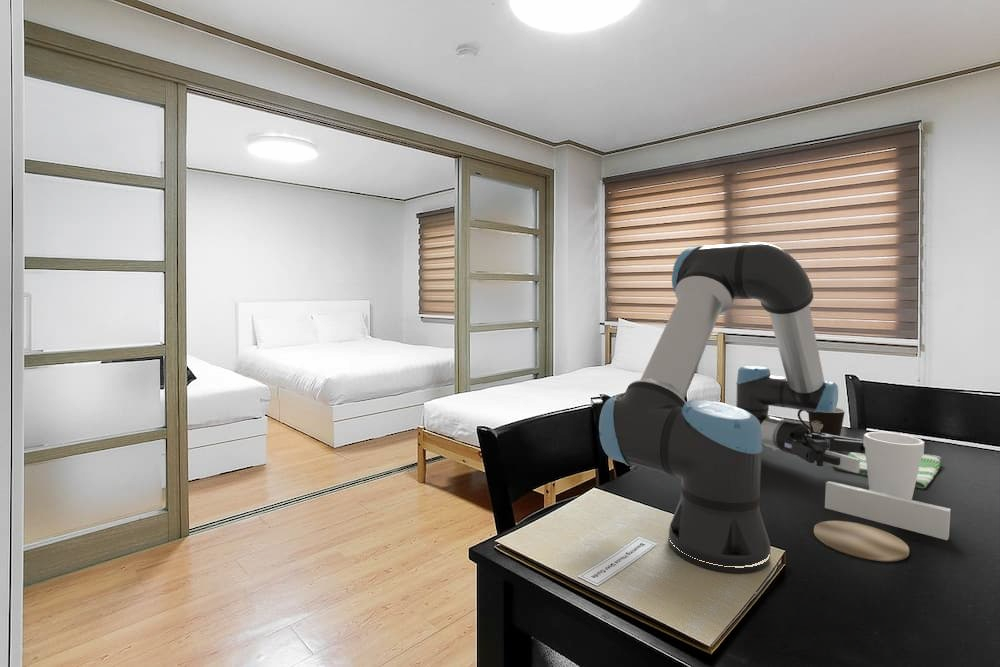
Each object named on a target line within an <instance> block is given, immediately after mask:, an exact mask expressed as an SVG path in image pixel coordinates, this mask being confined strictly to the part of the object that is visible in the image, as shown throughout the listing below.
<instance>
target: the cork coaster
mask: <svg viewBox="0 0 1000 667" xmlns="http://www.w3.org/2000/svg"><path fill="white" fill-rule="evenodd" d="M813 534H814V536H815V538H816V539H817V540H819V542H821V544H822V543H823V545H826V546H827V547H829V548H831V549H833V550H835V551H837V552H841V553H843V554H845V555H849V556H853V557H855V558H860V559H863V560H864V559H865V560H870V561H878V562H899V561H903V560H905V559H907V558H908V557H909V556H910V547H909V545H908V544H907V543H906V542H905V541H903V540H902V539H901V538H899V537H897V536H896V535H894V534H892V533H891V532H887V531H885V530H882V529H880V528H878V527H877V528H876V527H874V526H870V525H866V524H863V523H859V522H852V521H846V520H845V521H843V520H827V521H819V522H818V523H816V524H814V527H813Z"/></svg>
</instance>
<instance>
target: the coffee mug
mask: <svg viewBox="0 0 1000 667" xmlns="http://www.w3.org/2000/svg"><path fill="white" fill-rule="evenodd" d="M804 411H805V410H798V411H797V418H798V420H799V421H800V422H801V424H803V425H805V426H806V427H807V429H808V430H809V432H810V434H811V435H812V433H816V434H820V435H821V433H826V434H830V435H835V436H841V432H842V427H843V422H844V417H845V412H846V411H845V410H844V409H843V408H839V407H836V409H835V411H834V412H832V413H824V412H812V411H805V412H806V413H807V414H808V423H809V425H808V424H806V422H804V421H803V419H802V417H801V413H802V412H804ZM827 448H829V446H828V447H827Z"/></svg>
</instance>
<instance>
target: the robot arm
mask: <svg viewBox="0 0 1000 667" xmlns="http://www.w3.org/2000/svg"><path fill="white" fill-rule="evenodd" d="M672 271H673V274H672V275H671V286H672V290H673V292H674V294H675V296H676V299H677V302H676V303H675V306H674V308H673V310H672V312H671V314H670V316H669V319H668V321H667V323H666V325H665V327H664V329H663V331H662V333H661V334H660V338H659V339H658V342H657V344H656V345H655V346H656V347H655V348H654V350H653V353H652V354H651V357H650V359H649V361H648V363H647V365H646V367H645V369H644V372H643V373H642V375H641V378H640V379H639V380H635V381H632V382H631V383H629V384H628V386H627V388H626V390H625V392H624V394H623V396H622V397H620V396H617V395H616V396H613V397H611V398H608V399H606V401H605V402H604V403H603V406H602V408H601V411H600V415H599V421H598V423H599V424H598V431H599V440H600V444H601V446H602V450H603V451H604V453H605V454H606V455H607V457H608V458H610V459H612V460H613V461H616V462H620V463H622V464H625V465H626V466H628V467H631V466H632V467H636V468H640V469H643V470H648V471H653V472H656V473H660V474H665V475H669V476H673V477H677V478H679V479H681V483H680V484H681V486H680V499H679V501H678V504H677V506H676V510H675V512H674V513H673V514H674V515H673V516H672V519H671V522H670V525H669V528H668V544H669V546H670V548H671V549H672V551H673V552H674V553H675V554H677V555H678V556H679V557H680V558H682V559H684V560H686V561H688V562H690V563H692V564H694V565H695V566H696V565H697V566H699V567H701V568H706V569H709V570H713V571H718V572H722V573H731V574H732V573H733V574H735V573H736V574H738V573H739V574H743V573H744V574H745V573H753V572H758V571H760V570H763V569H765V568H766V567H767V566H768V565H769V564H770V561H771V556H770V557H769V559H768V560H767V561H766V562H764V563H763V564H760V565H757V566H753V567H744V568H735V567H724V566H745V565H752V564H755V563H758V562H760V561H762V560H764V559H766V558H767V557H768V555H769V554H770V555H771V542H770V539H769V536H768V532H767V530H766V527H765V523H764V520H763V517H762V514H761V509H760V494H761V475H762V474H761V473H762V452H763V446H765V447H769V448H771V450H772V451H777V450H778V451H782V452H784V453H787V454H790V455H794V456H797V457H799V458H800V459H803V460H804V461H806V462H808V463H810V464H814V463H815V462H816V466H818V467H823V466H824V464H826V465H828V466H829V465H830V466H833V467H835V468H836V467H838V468H842V469H845V470H848V471H851V472H850V473H852V472H855V473H854V474H856V473H859V467H860V459H857V458H853V457H850V456H846V455H847V454H842V453H838V452H847V453H850V452H854V453H863V454H865V447H864V446H863V445H864V438H863V439H861V438H855V437H854V438H853V437H848V436H842V435H840V436H835V435H830V434H826V433H821V435H820V434H816V433H812V435H811V434H810V430H809V429H808V428H807V427H806V426H805V425H803V424H802V423H800V422H795V421H792V420H788V419H787V420H786V419H784V418H779V417H775V416H770V415H769V407H777V408H778V407H779V408H784V409H786V408H787V409H793V410H798V411H799V410H805V412H806V411H812V412H824V413H832V412H834V411H835V409H836V408H837V406H838V401H839V387H838V384H837V383H836V382H835V381H834V382H833V381H829V380H827V379H826V380H825V378H824V374H823V373H824V372H823V367H822V363H821V357H820V352H819V347H818V342H817V338H816V332H815V327H814V323H813V318H812V311H811V307H810V305H811V304H812V303H813V301H814V292H813V287H812V286H813V285H812V283H811V281H810V278H809V276H808V274H807V273H806V270H805V269H804V268H803V267H802V266H801V264H800V263H799V262H798V261H797V260H796V259H795V258H794V256H792V255H790V253H788V252H787V251H785V250H783V248H781V247H779V246H776V245H774V244H771V243H767V242H761V241H753V242H745V243H744V242H743V243H730V244H729V243H727V244H725V243H724V244H713V245H712V244H710V245H708V244H705V245H702V244H701V245H698V246H694V247H689V248H686V249H684V250H683V251H682V252H681V253H680V254H679V255H678V256H677V258H676V260H675V262H674V264H673V268H672ZM734 300H758V301H760V305H761V307H762V309H763V310H764V311H765V312H766V313H768V314H769V317H770V318H769V319H770V321H771V325H772V329H773V333H774V337H775V340H776V344H777V348H778V351H779V355H780V360H781V364H782V367H783V371H784V374H785V376H777V375H771V370H770V368H769V367H765V366H760V365H743V366H740V367H739V368H738V370H737V379H736V383H735V384H736V405H735V406H734V405H731V404H727V403H723V402H719V401H712V400H711V401H708V400H703V399H692V400H688V401H686V400H685V398H686V396H687V393H688V391H689V389H690V386H691V383H692V381H693V379H694V377H695V373H696V371H697V370H698V367H699V364H700V362H701V359H702V357H703V356H704V352H705V349H706V347H707V345H708V342H709V339H710V337H711V335H712V332H713V330H714V328H715V326H716V323H717V321H718V319H719V318H718V317H719V316H721V315H723V314H726V313H727V312H728V311H729V310H730V309H731V306H732V304H733V302H734ZM828 446H829V448H827V447H828ZM836 451H838V452H836ZM669 538H670V539H669ZM670 540H671V542H672V543H673V544H672V543H671V542H670ZM673 545H675V547H674V546H673ZM676 547H677V548H678V549H679V550H680V551H679V550H678V549H677V548H676ZM681 551H682V552H683V553H682V552H681ZM684 553H685V554H684ZM686 554H687V555H686ZM688 555H689V556H688ZM690 556H691V557H690ZM692 557H693V558H692ZM694 558H696V559H694ZM697 559H698V560H697ZM699 560H702V561H705V562H702V561H699ZM706 562H709V563H713V564H718V565H723V566H718V565H713V564H709V563H706Z"/></svg>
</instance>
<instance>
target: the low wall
mask: <svg viewBox="0 0 1000 667" xmlns="http://www.w3.org/2000/svg"><path fill="white" fill-rule="evenodd" d="M824 494H825V495H824V496H825V498H824V508H825V509H827V510H831V511H834V512H839V513H842V514H847V515H848V516H849V515H850V516H853V517H857V518H862V519H864V520H865V519H866V520H868V521H873V522H875V523H879V524H884V525H888V526H891V527H895V528H900V529H903V530H906V531H910V532H913V533H914V532H915V533H917V534H923V535H925V536H930V537H933V538H936V539H941V540H945V541H948V540H949V539H950V523H951V510H952V509H951V508H948V507H944V506H939V505H935V504H932V503H927V502H922V501H918V500H914V499H912V500H910V499H905V498H901V497H897V496H892V495H888V494H884V493H879V492H875V491H871V490H869V489H866V488H862V487H857V486H852V485H850V484H849V485H848V484H844V483H840V482H837V481H835V482H834V481H830V480H828V481H826V482H825V493H824Z"/></svg>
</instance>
